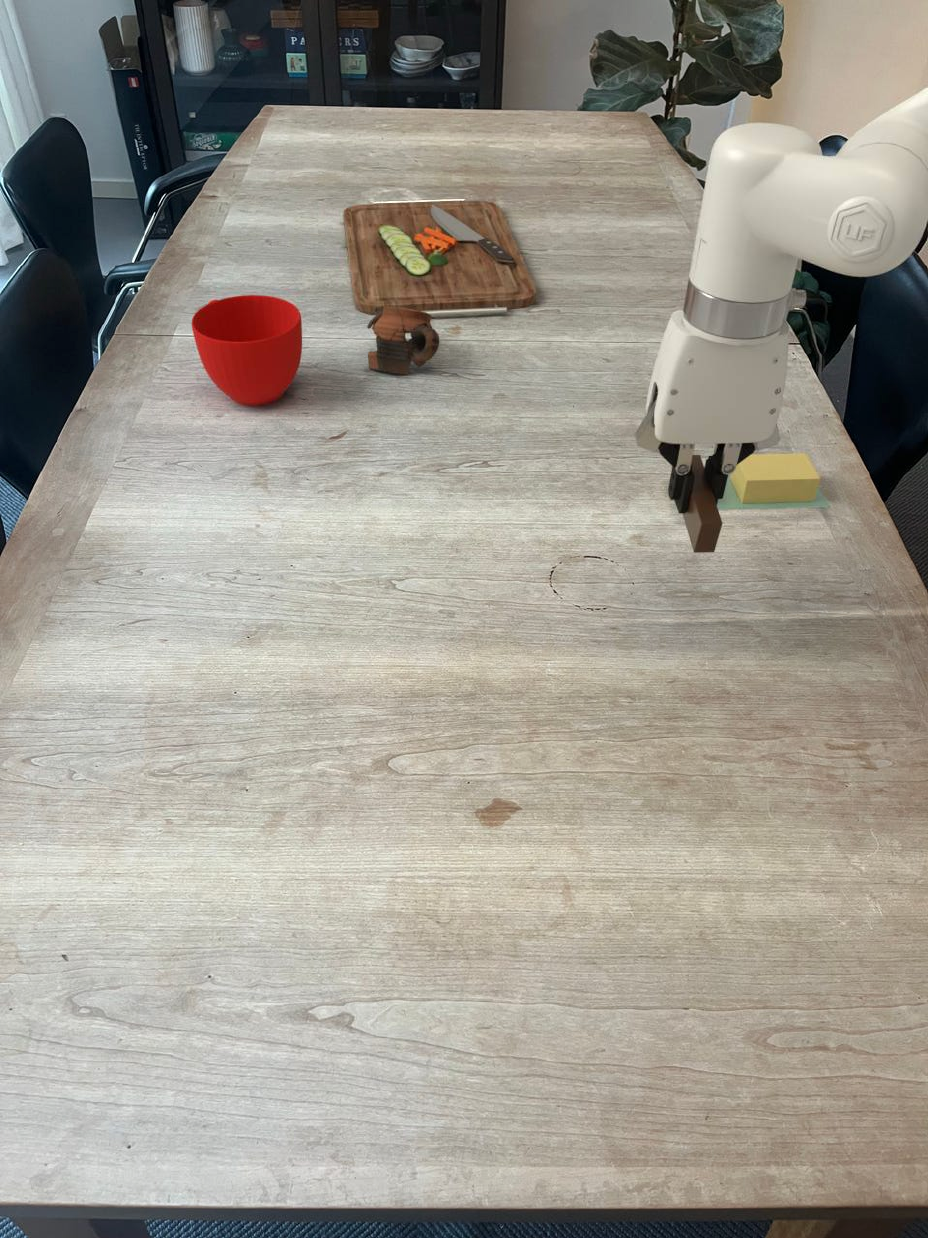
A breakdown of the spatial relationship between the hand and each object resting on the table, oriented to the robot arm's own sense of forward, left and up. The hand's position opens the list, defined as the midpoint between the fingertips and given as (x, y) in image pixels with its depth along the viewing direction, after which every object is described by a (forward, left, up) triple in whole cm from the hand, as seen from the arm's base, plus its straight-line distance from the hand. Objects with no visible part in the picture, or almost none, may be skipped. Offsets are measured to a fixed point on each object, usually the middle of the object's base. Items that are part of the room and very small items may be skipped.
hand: (693, 502), depth 88 cm
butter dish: (-12, -18, -12) cm, 25 cm away
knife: (0, -4, -1) cm, 4 cm away
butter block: (-15, -18, -11) cm, 26 cm away
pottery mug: (+25, -51, -13) cm, 58 cm away
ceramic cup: (+45, -45, -13) cm, 65 cm away
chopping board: (+20, -86, -13) cm, 89 cm away
